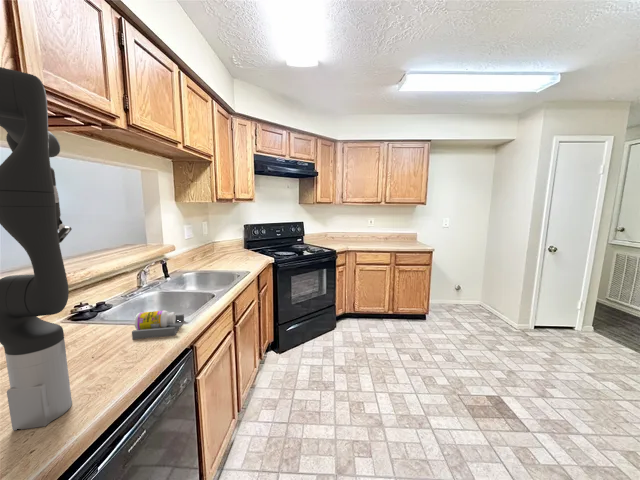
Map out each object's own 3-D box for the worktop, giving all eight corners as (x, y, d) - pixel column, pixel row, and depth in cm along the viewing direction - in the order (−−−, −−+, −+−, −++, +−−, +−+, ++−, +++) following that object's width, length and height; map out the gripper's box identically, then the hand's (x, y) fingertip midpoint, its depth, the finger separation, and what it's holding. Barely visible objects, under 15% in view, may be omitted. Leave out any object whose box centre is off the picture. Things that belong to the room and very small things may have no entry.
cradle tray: (174, 335, 100) (174, 328, 100) (132, 339, 97) (131, 331, 97) (184, 320, 113) (183, 314, 112) (147, 323, 110) (146, 316, 109)
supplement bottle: (137, 309, 104) (174, 305, 107) (141, 320, 107) (177, 316, 111) (132, 323, 98) (171, 319, 102) (136, 334, 102) (174, 330, 106)
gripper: (2, 200, 75) (11, 260, 78) (58, 201, 78) (65, 259, 80) (25, 200, 83) (32, 255, 85) (75, 201, 85) (81, 254, 88)
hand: (48, 257), depth 83 cm, fingers closed
